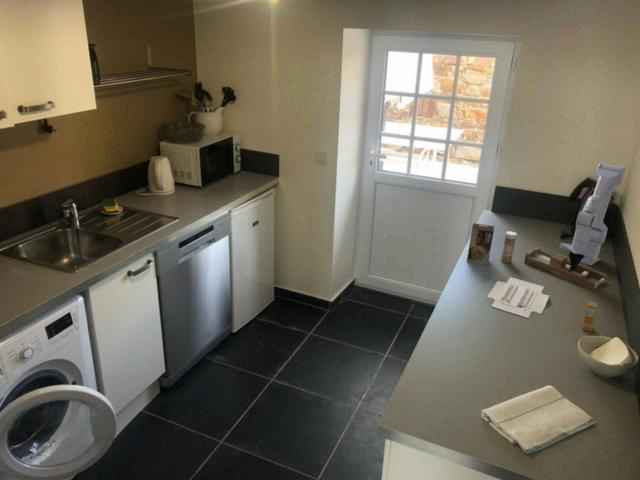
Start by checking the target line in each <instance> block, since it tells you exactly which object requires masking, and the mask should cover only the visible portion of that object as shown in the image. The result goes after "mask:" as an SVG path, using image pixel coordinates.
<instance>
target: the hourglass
mask: <svg viewBox="0 0 640 480" xmlns="http://www.w3.org/2000/svg"><path fill="white" fill-rule="evenodd" d="M597 310H598V302H593V301H587V306H586V309H585V313H584V316H583V317H584V318H583V320H582V325H581V330H583V329H584V331H587V330H588V332H592V330H593V328H594V323H595V320H596V316H597V315H596V314H597Z"/></svg>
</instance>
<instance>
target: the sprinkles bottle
mask: <svg viewBox="0 0 640 480" xmlns="http://www.w3.org/2000/svg"><path fill="white" fill-rule="evenodd" d="M504 236H505V237H504V243H503V247H502V253H501V258H500V261H501V262H503V263H505V264H510V263H511V262H512V259H513V255H514V249H515V244H516V240H517V236H518V233H517V232H515V231H509V230H508V231H506V232H505V235H504Z"/></svg>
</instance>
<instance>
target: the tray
mask: <svg viewBox="0 0 640 480" xmlns="http://www.w3.org/2000/svg"><path fill="white" fill-rule="evenodd" d="M544 289H545V286H543V285H538V284H536V283H532V282H529V281H525V280H522V279H518V278H515V277H509V279H508V280H507V281H506V282H504V281H500V280H497V281H496V283H495V285H494V286H493V287H492V288H491V290H490V291H489V293H488V294H487V296H486V298H487V299H491V300H494V301H493V302H492V304H491V307H493V308H495V309H498V310H502V311H504V312H508V313H511V314H515V315H518V316H519V317H523V318H527V319H529V318H530V316H531V315H532V313H536V314H540V315H542V314H543V311H544V309H545V307H546V305H547V304H548V301H549V299H550V298H551V297H550V296H551V295H549V294H544V293H543V291H544Z"/></svg>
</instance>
